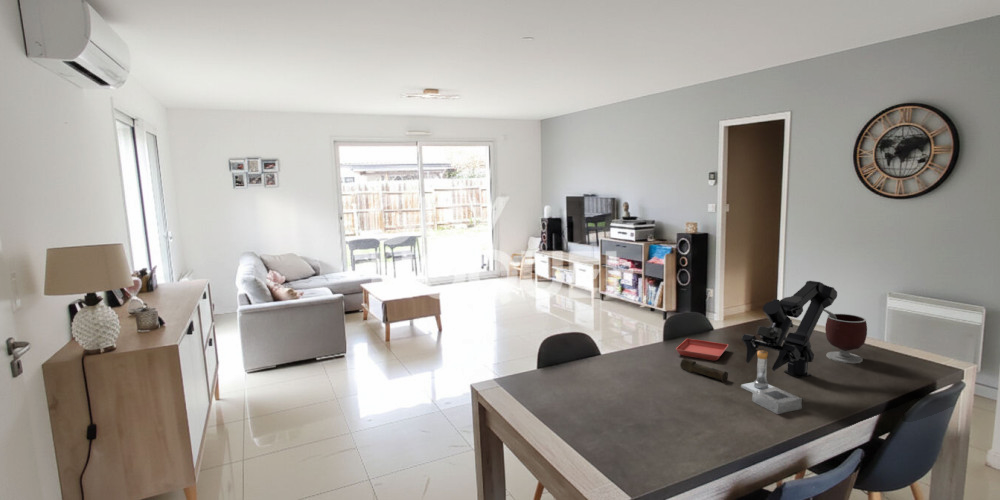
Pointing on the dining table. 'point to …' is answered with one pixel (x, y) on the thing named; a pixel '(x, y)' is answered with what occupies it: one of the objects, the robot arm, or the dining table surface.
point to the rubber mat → (752, 387)
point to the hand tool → (703, 370)
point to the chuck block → (777, 400)
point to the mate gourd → (845, 336)
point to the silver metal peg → (761, 370)
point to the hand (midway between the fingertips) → (759, 366)
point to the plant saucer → (701, 349)
